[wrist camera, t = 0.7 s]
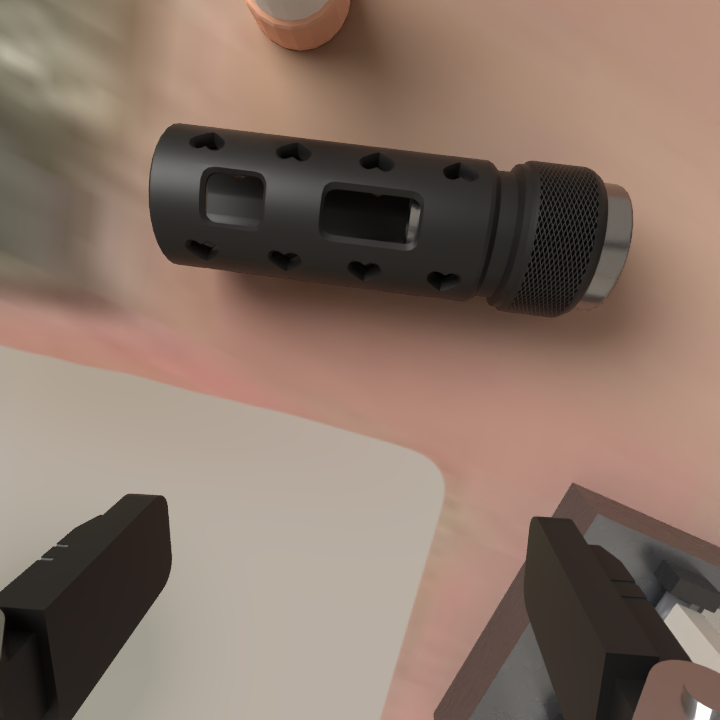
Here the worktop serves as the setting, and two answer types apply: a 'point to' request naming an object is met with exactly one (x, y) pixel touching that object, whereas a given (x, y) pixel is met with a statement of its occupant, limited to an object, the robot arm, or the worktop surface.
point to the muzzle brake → (389, 219)
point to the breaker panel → (514, 631)
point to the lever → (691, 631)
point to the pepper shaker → (299, 20)
